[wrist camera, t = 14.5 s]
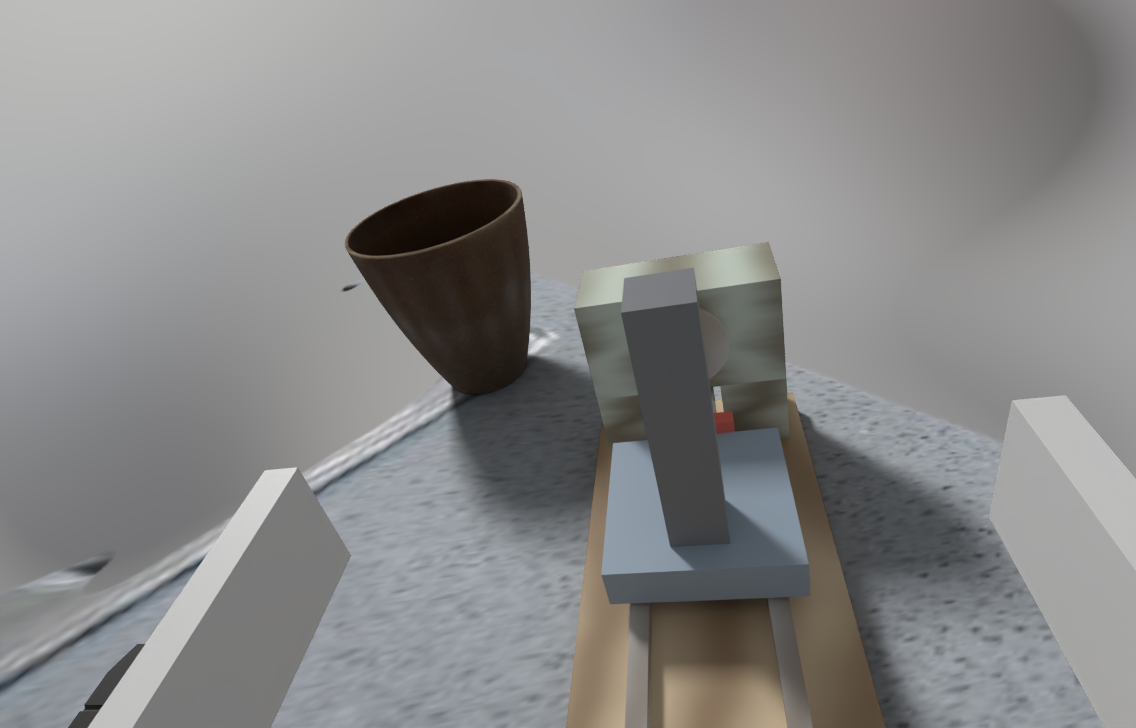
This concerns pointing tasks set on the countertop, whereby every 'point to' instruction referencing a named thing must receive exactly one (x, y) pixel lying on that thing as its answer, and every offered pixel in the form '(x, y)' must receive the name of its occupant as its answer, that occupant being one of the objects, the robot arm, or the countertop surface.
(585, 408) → the countertop surface
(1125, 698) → the robot arm
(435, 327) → the plant pot
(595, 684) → the rail track
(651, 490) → the carriage
